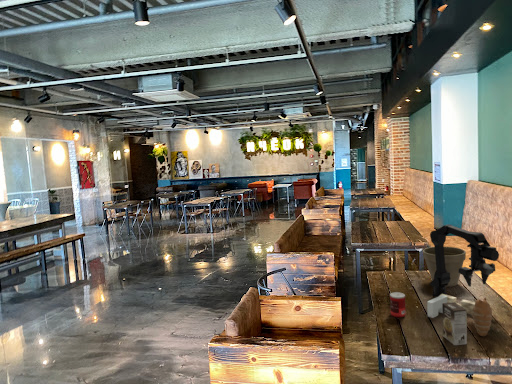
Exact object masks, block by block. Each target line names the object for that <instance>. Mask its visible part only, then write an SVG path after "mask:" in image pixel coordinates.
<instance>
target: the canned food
mask: <svg viewBox="0 0 512 384" xmlns="http://www.w3.org/2000/svg"><path fill="white" fill-rule="evenodd" d="M389 305H390V306H389V307H390V309H389V310H390V315H391V316H392V317H395V318H404V317H406V314H407V313H406V312H407V311H406V295H405V293H402V292H399V291H395V292H391V293H389Z"/></svg>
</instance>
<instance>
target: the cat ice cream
mask: <svg viewBox="0 0 512 384" xmlns="http://www.w3.org/2000/svg"><path fill="white" fill-rule="evenodd" d="M474 302H475V306H474V307H473V314H472V315H473V316H472V317H473V324H474V327H475V329H476V332H477V334H478V335H479V336H480V337H486V336H487V335H488V333H489V331H490V329H491V325H492V320H493V316H492V314H493V309H492V307H491V305H490V303H489V302H488V301H487V297H486V296H484V297H483V298H479V299H477V300H475V301H474Z"/></svg>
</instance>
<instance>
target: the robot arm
mask: <svg viewBox="0 0 512 384" xmlns="http://www.w3.org/2000/svg"><path fill="white" fill-rule="evenodd" d="M448 235H453V236H456V237H459V238H462V239H464V240H465V241H466V242H467V243H468V244H467V245H466V247H467V248H470V257H468V260H470V264H469V265H468V267H466V266H462V268H459V273H461V274H460V275H462V277H463V278H464V280H465V282H466V284H467V286H468V287H472V278H473V276H474V275H473V274H474V273H476V272H480V274H481V275H480V277H481V283H482V284H483V285H486V283H487V281H488V279H489V276H490V275H491V274H493V273H494V272H496V264H495V263H493V262H496V261H498V259H499V256H500V253H499V251H498V250H497V247H494V246H491V245H490V243H489V241H488V239H487V238H486V236H485V234H484V233H483V232H477V231H469V230H465V229H463V228H460V227H457V226H456V225H455V226H454V225H452V224H445V225H443V226H441V227H440V228H437V229H436V230H435V229H434V230H431V232H430V233H429V237H430V241H431V244H432V245H434V246H433V247H434V248H435V259H436V271H435V273H434V279H433V280H432V279H431V281H430V282H429V285H430V287H432V294H431V297H434V298H436V297H438V296H440V295H441V294H445V295H448V293H447V292H448V291H447V289H446V288H447V287H446V286H447V285H448V283H449V282H450V279H451V278H450V273H449V272H447V271H446V268H445V256H444V247H445V243H446V241H447V236H448ZM486 260H488V261H493V262H492V263H486Z"/></svg>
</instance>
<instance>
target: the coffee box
mask: <svg viewBox="0 0 512 384" xmlns="http://www.w3.org/2000/svg"><path fill="white" fill-rule="evenodd" d="M457 303H458V302H457ZM457 303H455V302H453V303H442V308H443V313H442V337H443V338H445V339H446V340H447V341H448V342H449V343H451V344H452V345H453V346H460V345H461V346H463V345H468V338H467V337H468V332H467V331H468V328H467V327H468V325H467V323H468V322H467V319H468V318H467V317H468V316H467V315H468V314H467V310H466V309H465V308H463V307H461V306H460V305H458V304H457Z"/></svg>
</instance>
